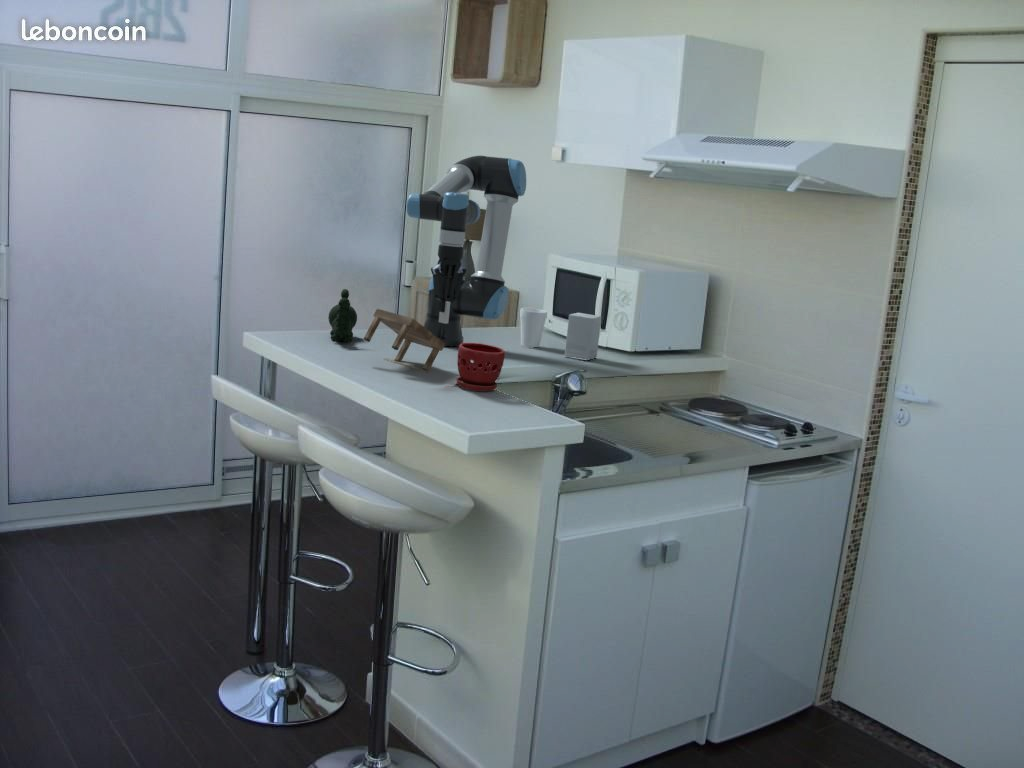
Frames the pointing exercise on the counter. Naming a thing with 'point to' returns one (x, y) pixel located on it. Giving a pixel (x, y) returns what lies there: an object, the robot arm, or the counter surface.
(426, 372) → the oak batten
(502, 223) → the robot arm
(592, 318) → the supplement box
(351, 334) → the toy figurine
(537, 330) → the foam cup
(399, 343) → the footstool
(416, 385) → the counter surface
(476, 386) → the plant pot
